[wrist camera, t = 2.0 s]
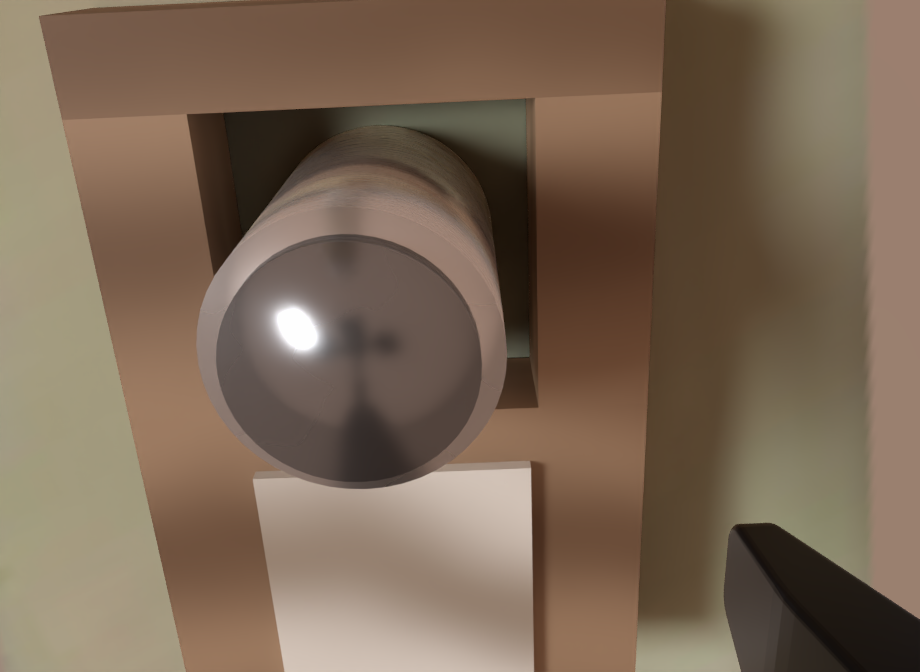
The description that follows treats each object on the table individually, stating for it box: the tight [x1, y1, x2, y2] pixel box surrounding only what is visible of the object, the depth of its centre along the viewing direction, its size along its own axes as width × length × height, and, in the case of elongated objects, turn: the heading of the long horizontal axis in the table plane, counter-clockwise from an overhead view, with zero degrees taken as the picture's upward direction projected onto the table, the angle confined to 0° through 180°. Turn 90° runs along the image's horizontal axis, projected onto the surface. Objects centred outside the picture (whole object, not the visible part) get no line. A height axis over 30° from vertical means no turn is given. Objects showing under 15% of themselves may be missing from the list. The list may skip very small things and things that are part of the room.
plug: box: [196, 125, 507, 489], centre depth 16 cm, size 5×5×7 cm
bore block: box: [39, 0, 666, 672], centre depth 19 cm, size 16×11×3 cm
